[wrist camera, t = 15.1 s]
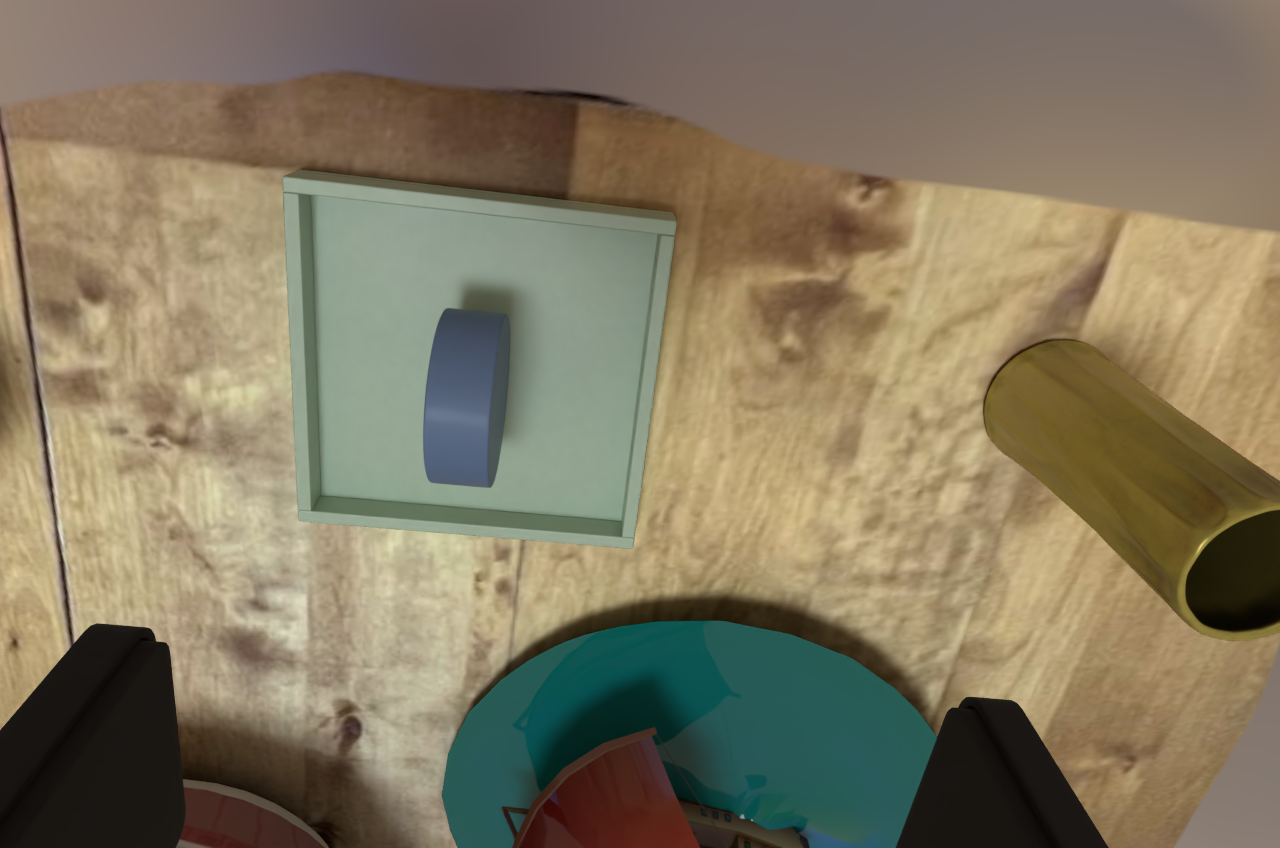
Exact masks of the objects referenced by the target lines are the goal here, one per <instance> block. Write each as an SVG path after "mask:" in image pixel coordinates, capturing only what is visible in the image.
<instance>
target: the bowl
mask: <svg viewBox="0 0 1280 848" xmlns="http://www.w3.org/2000/svg"><path fill="white" fill-rule="evenodd" d="M183 785H184V795H185V805H186V816H185V823H184V827H183V831H182V834H181V837H180V840H179V842H178V844H177V846H176V848H329V847H328V846H327V844H326V843H325V842H324V841H323V839H322V838H321V837H320V836H319V835H318V834H317V833H316V832H315V831H314V830H312V829H311V828H310V827H309V826H308V825H307V824H306V823H304V822H303V821H302V820H301V819H300V818H298V817H297V816H295V815H293V814H292V813H290V812H288V811H287V810H285V809H284V808H282V807H280V806H279V805H277V804H275V803H273V802H271V801H268V800H266V799H264V798H261V797H259V796H257V795H254V794H252V793H250V792H247V791H244V790H240V789H236V788H232V787H229V786H225V785H221V784H217V783H211V782H203V781H195V780H187V779H183Z"/></svg>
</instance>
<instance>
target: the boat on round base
mask: <svg viewBox="0 0 1280 848" xmlns="http://www.w3.org/2000/svg"><path fill="white" fill-rule="evenodd" d="M936 740H937V737H936V735H935V734H934V732H933V731H932V729H931V728H930V727H929V725H928V724H927V723H926V721H925V720H924V718H923V717H922V716H921V714H920V713H919V712H918V711H917V710H916V709H915V708H914V707H913V706H912V705H911V704H910V703H909V702H908V701H907V700H906V699H905V698H904V697H903V696H902V695H901V694H900V693H899V692H898V691H897V690H896V689H895V688H894V687H892V686H891V685H889V684H888V683H886V682H885V681H884V680H882V679H881V678H879V677H878V676H877V675H875V674H874V673H872V672H871V671H869V670H868V669H867V668H865V667H864V666H862V665H861V664H860V663H858V662H857V661H855V660H854V659H852V658H850V657H848V656H845V655H843V654H840V653H837V652H835V651H832V650H830V649H827V648H825V647H822V646H820V645H817V644H814V643H812V642H809V641H807V640H804V639H802V638H799V637H797V636H794V635H791V634H787V633H782V632H777V631H772V630H767V629H762V628H757V627H752V626H747V625H742V624H737V623H731V622H726V621H658V622H650V623H642V624H634V625H627V626H619V627H615V628H611V629H607V630H603V631H599V632H594V633H590V634H586V635H583V636H580V637H577V638H574V639H571V640H569V641H566V642H564V643H561V644H559V645H557V646H555V647H553V648H551V649H549V650H547V651H545V652H543V653H541V654H539V655H538V656H536V657H534V658H532V659H530V660H528V661H527V662H525V663H524V664H523V665H521V666H520V667H518V668H517V669H516V670H514V671H513V672H511V673H510V674H509V675H507V676H506V677H504V678H503V679H502V680H501V681H500V682H499V683H498V684H497V685H496V686H495V687H494V688H493V689H492V690H491V691H490V692H489V693H488V694H487V695H486V696H485V697H484V698H483V699H482V700H481V701H480V702H479V703H478V704H477V705H476V706H475V707H474V708H473V709H472V710H471V711H470V712H469V713H468V715H467V717H466V719H465V721H464V723H463V725H462V727H461V729H460V731H459V733H458V735H457V737H456V739H455V741H454V743H453V745H452V748H451V750H450V752H449V754H448V759H447V766H446V772H445V779H444V785H443V792H442V798H443V802H444V806H445V810H446V814H447V818H448V822H449V826H450V830H451V833H452V835H453V838H454V840H455V843H456V845H457V847H458V848H896V845H897V843H898V840H899V838H900V835H901V832H902V830H903V827H904V824H905V822H906V819H907V816H908V814H909V811H910V808H911V806H912V803H913V800H914V798H915V795H916V793H917V790H918V787H919V785H920V782H921V779H922V777H923V774H924V771H925V769H926V766H927V763H928V761H929V758H930V755H931V753H932V750H933V747H934V745H935V742H936Z"/></svg>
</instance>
